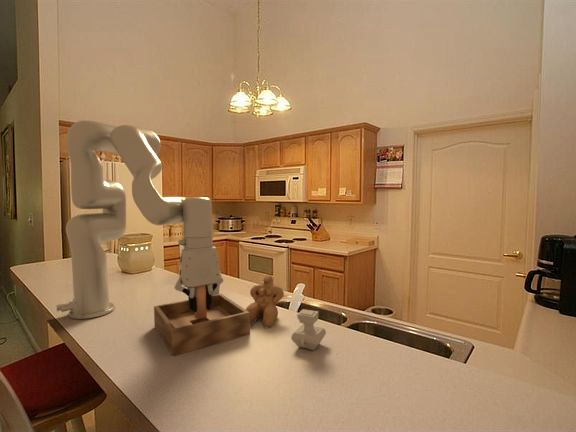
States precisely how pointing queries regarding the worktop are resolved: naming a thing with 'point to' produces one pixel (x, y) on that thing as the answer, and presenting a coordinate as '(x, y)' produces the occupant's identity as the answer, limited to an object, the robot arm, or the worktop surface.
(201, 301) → the peg
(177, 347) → the bore box
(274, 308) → the figurine
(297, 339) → the stamp
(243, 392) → the worktop surface
